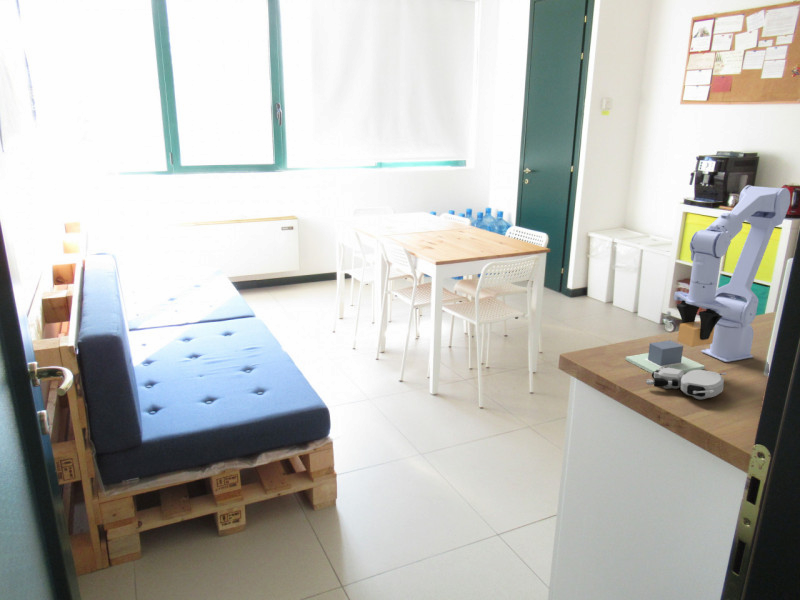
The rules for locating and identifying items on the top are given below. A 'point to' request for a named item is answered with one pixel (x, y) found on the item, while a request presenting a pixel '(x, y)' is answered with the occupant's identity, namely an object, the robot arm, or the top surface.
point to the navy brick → (665, 353)
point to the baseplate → (649, 366)
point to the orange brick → (693, 334)
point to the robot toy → (689, 381)
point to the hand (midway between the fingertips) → (695, 335)
